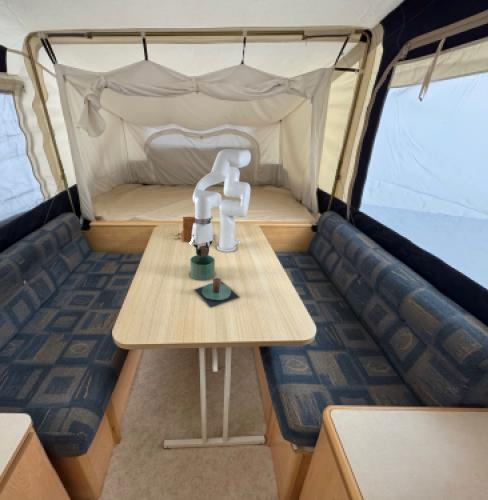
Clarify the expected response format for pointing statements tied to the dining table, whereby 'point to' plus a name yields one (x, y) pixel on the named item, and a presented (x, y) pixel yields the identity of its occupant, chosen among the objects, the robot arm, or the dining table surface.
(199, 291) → the mat
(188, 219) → the game set
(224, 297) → the lid
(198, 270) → the canister
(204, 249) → the block
